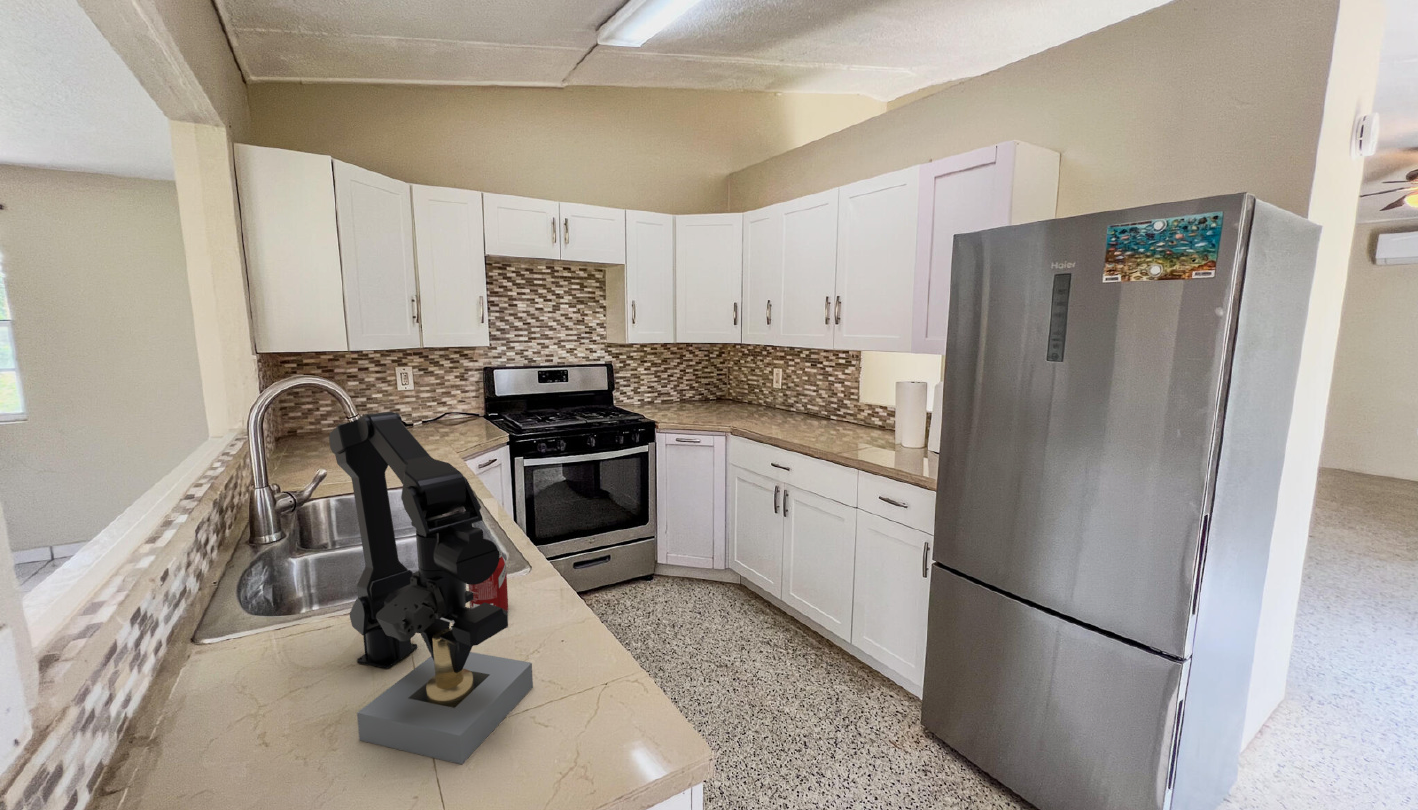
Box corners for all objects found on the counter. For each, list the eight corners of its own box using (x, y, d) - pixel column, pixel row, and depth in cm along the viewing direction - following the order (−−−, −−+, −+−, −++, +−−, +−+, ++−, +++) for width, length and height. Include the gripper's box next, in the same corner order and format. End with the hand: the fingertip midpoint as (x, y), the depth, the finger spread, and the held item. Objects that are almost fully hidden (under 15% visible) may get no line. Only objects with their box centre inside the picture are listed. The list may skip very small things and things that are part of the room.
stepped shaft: (418, 706, 80) (413, 639, 78) (454, 682, 85) (450, 619, 84) (447, 719, 77) (442, 651, 76) (483, 694, 82) (479, 630, 81)
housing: (359, 740, 76) (356, 712, 75) (444, 670, 91) (442, 647, 91) (461, 764, 72) (459, 735, 71) (532, 686, 87) (531, 662, 86)
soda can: (495, 626, 104) (492, 563, 103) (462, 622, 106) (458, 560, 104) (515, 608, 111) (512, 549, 109) (484, 604, 112) (480, 546, 111)
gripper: (341, 570, 75) (351, 679, 78) (434, 603, 67) (443, 724, 69) (418, 542, 85) (425, 639, 87) (508, 567, 77) (513, 674, 79)
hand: (448, 667), depth 80 cm, fingers closed on stepped shaft, 4 cm apart
